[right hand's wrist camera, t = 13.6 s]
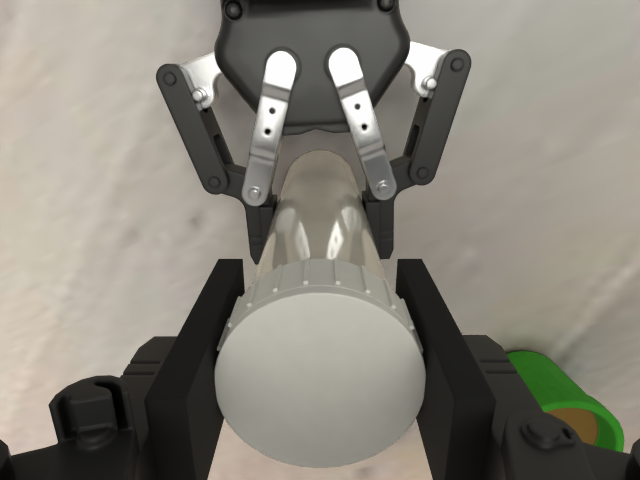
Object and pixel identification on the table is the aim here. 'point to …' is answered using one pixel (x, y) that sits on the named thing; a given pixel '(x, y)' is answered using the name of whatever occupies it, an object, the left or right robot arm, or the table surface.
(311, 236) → the beige long cylinder
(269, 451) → the lid
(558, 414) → the potted flower
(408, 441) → the table surface
